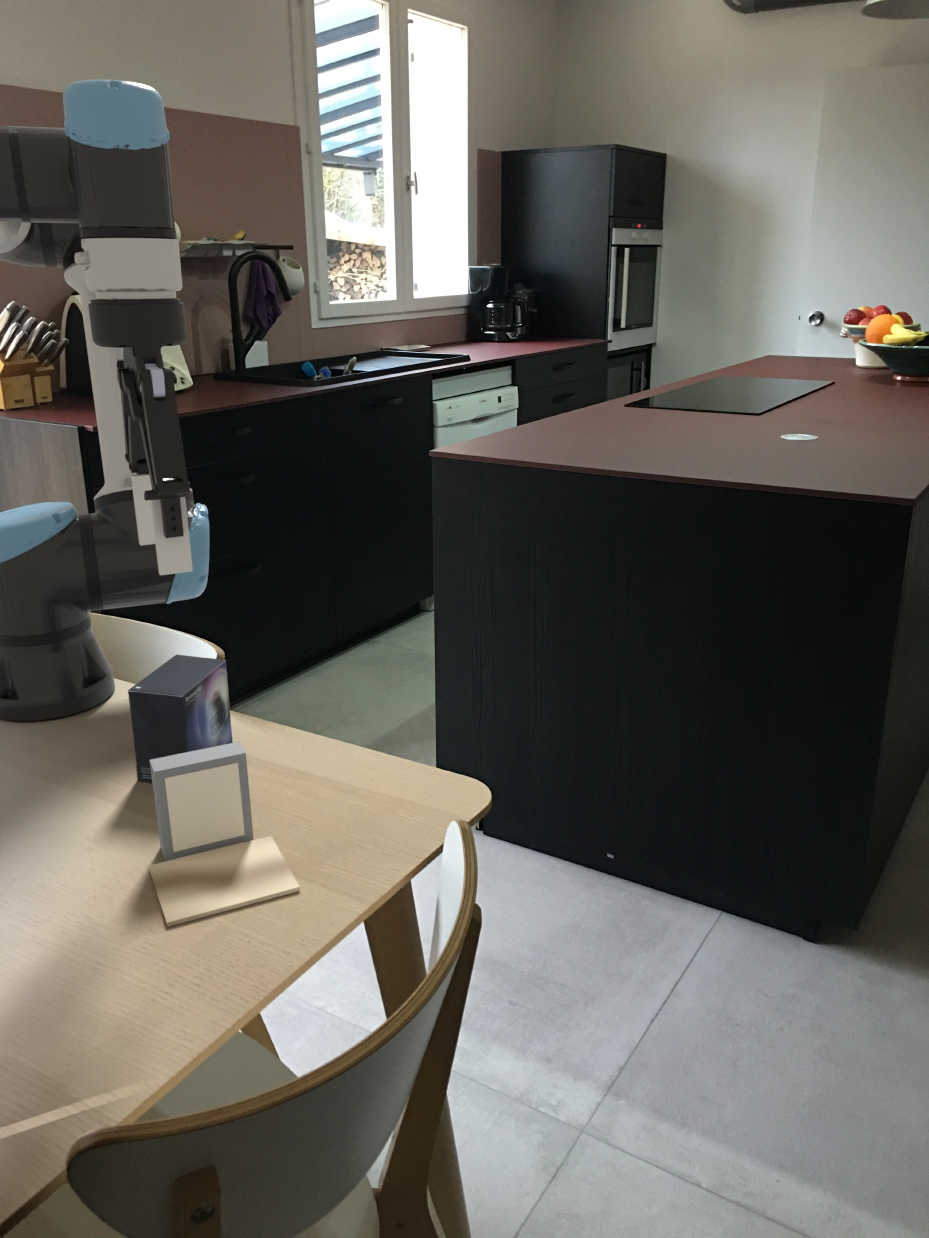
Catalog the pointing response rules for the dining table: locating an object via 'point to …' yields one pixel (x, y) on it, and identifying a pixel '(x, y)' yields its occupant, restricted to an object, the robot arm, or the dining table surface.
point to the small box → (179, 710)
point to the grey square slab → (202, 800)
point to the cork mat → (221, 880)
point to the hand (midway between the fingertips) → (164, 556)
